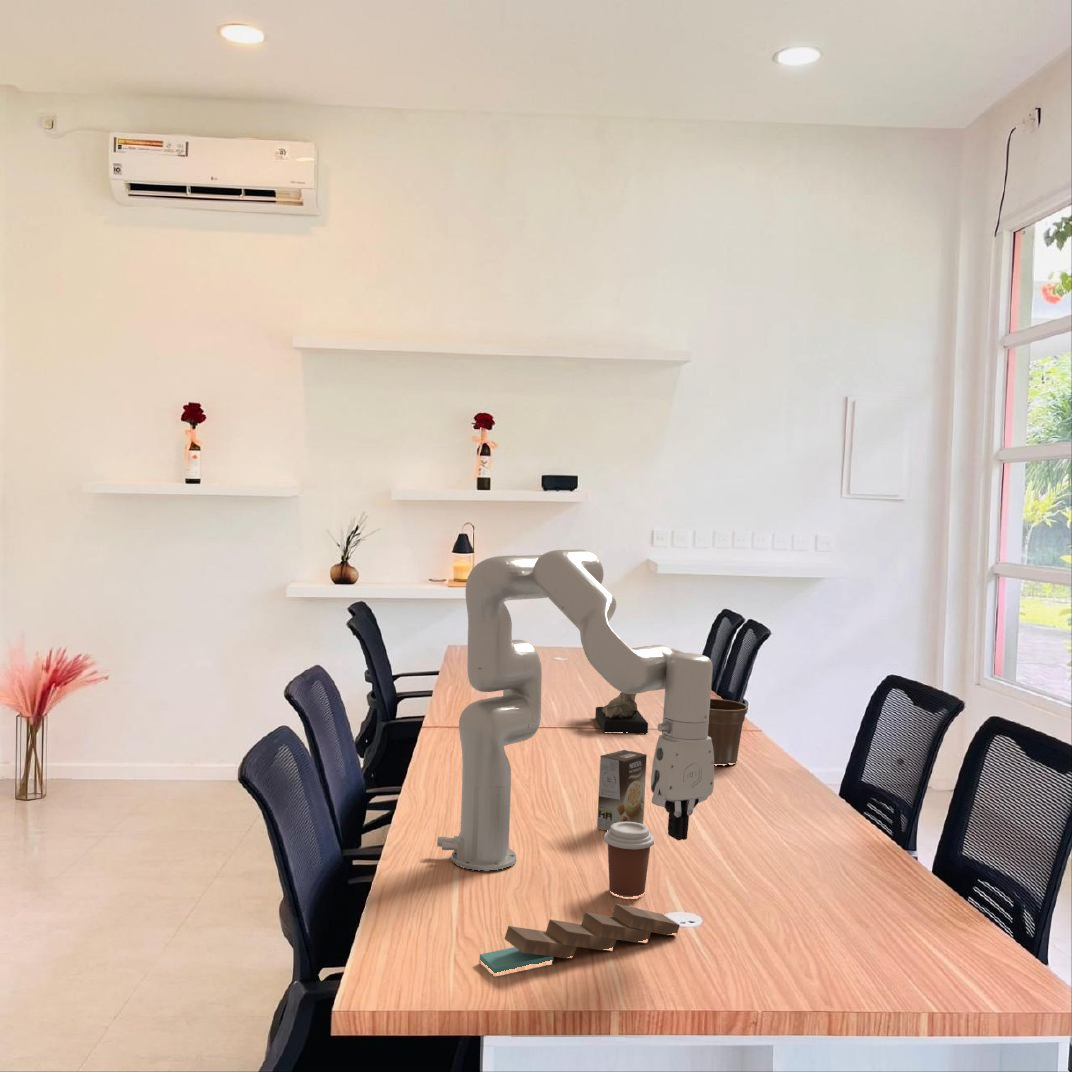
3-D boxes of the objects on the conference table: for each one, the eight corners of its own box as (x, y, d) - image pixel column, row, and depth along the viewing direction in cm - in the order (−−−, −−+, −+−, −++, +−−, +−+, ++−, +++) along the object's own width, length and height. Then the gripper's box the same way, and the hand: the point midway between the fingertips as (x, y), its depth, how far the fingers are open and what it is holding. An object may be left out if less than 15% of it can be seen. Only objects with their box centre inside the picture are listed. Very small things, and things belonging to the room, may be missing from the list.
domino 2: (612, 951, 161) (563, 944, 156) (594, 939, 165) (545, 932, 160) (616, 939, 161) (567, 931, 156) (597, 927, 165) (549, 919, 160)
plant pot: (742, 756, 291) (744, 699, 290) (748, 770, 275) (751, 711, 274) (684, 752, 293) (686, 696, 292) (687, 767, 276) (689, 707, 276)
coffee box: (620, 836, 217) (623, 761, 216) (596, 829, 221) (599, 755, 220) (644, 826, 224) (647, 754, 223) (620, 820, 228) (623, 748, 227)
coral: (594, 716, 338) (596, 651, 338) (655, 717, 339) (658, 653, 338) (601, 733, 313) (604, 663, 313) (667, 735, 314) (670, 665, 313)
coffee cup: (620, 879, 192) (623, 816, 192) (661, 892, 186) (664, 827, 186) (591, 892, 185) (594, 827, 184) (633, 906, 179) (636, 839, 179)
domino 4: (676, 937, 167) (629, 927, 162) (657, 925, 172) (611, 915, 167) (679, 924, 167) (633, 914, 163) (661, 913, 172) (615, 903, 167)
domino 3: (647, 944, 164) (598, 936, 159) (629, 932, 168) (581, 924, 163) (650, 931, 164) (602, 923, 159) (632, 920, 169) (585, 911, 164)
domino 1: (572, 959, 157) (522, 952, 152) (554, 945, 161) (504, 938, 156) (576, 946, 157) (526, 939, 152) (558, 933, 161) (508, 925, 156)
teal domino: (553, 968, 156) (494, 981, 151) (537, 955, 160) (479, 967, 155) (553, 955, 156) (494, 968, 151) (537, 942, 160) (479, 954, 155)
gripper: (661, 737, 162) (653, 850, 163) (735, 731, 169) (727, 839, 170) (634, 725, 169) (627, 834, 170) (706, 720, 176) (699, 825, 177)
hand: (677, 837), depth 170 cm, fingers closed
